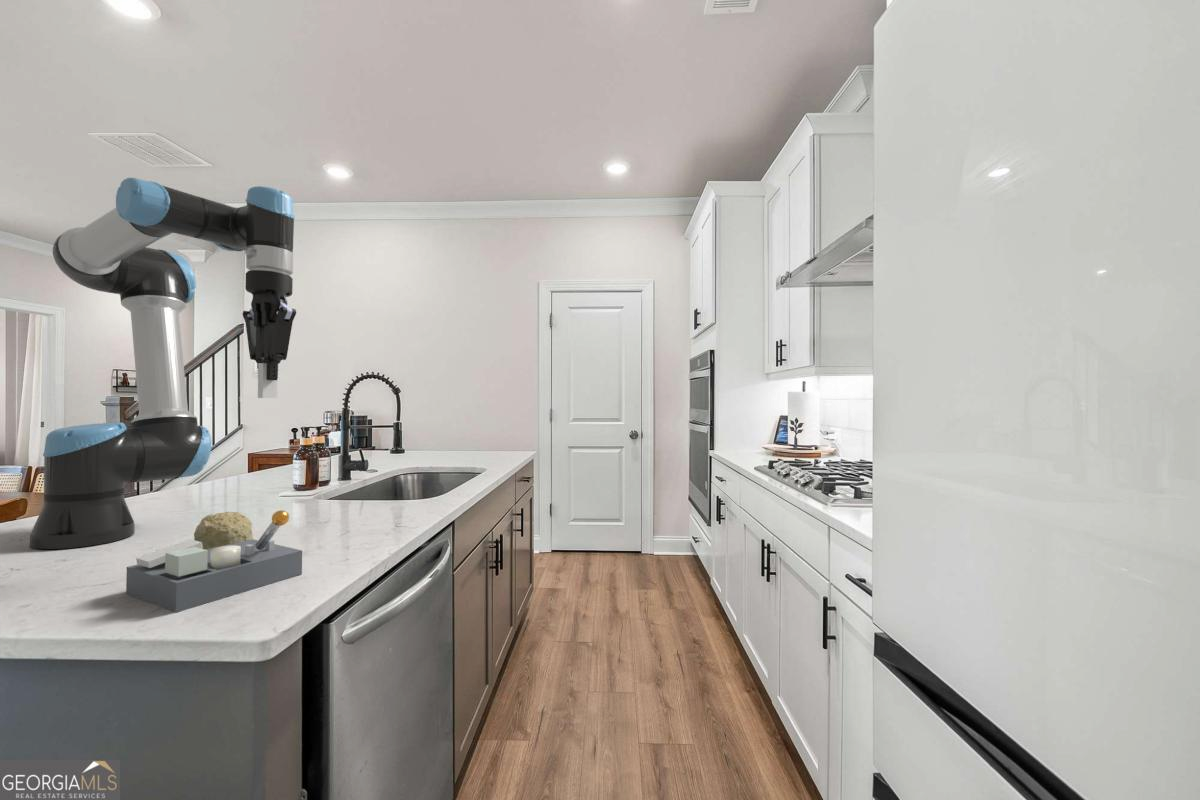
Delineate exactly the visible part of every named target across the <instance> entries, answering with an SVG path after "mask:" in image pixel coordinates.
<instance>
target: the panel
mask: <svg viewBox="0 0 1200 800" xmlns="http://www.w3.org/2000/svg"><path fill="white" fill-rule="evenodd" d="M258 540H259V539H254V538H253V539H251V540H247V541H242V542H238V543H233V544H229V545H224V546H240V547H241V561H240V565H236V566H233V567H229V568H225V569H221V570H216V569H212V568H210V550H212V549H214V548H210V549H206V550H208V558H207V570H203V571H199V572H195V573H191V574H187V575H183V576H179V577H178V576H175V575H172V574H168V573H165V563H162V564H159V565H157V566H154V567H151V568H147V567H144V566H141V565H138V564H134V565H129V566H126V575H125V576H126V581H125V582H126V585H125V586H126V587H125V588H126V589H125V590H126V593H125V594H126V595H129V596H131V597H134V598H136V599H139V600H142V601H145V602H148V603H150V604H153V605H155V606H159V607H161V608H164V609H165V610H169V611H172V612H174V613H178V612H181V611H184V610H185V611H186V610H188V609H192V608H194V607H199V606H202V605H205V604H208V603H211V602H214V601H218V600H222V599H225V598H228V597H231V596H235V595H238V594H241V593H244V592H247V591H251V590H254V589H257V588H260V587H264V586H267V585H271V584H273V583H277V582H281V581H284V580H287V579H292V578H294V577H298V576H301V575H303V549H299V548H293V547H288V546H286V545H285V546H284V545H280V544H275V540H274V539H273V540H272V539H270V541H269V542H268V543H267V545H266V546H265V547H264V549H262V550H259V549H257V548H256V547H255V544H256V543H257V542H258ZM219 547H222V546H219ZM215 548H217V547H215ZM160 549H161V548H159V549H155V551H157V550H160Z"/></svg>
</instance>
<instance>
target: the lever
mask: <svg viewBox="0 0 1200 800" xmlns="http://www.w3.org/2000/svg"><path fill="white" fill-rule="evenodd" d="M289 520H290V514H289V512H287V511H286V510H278V511H275V512H274V513H273V514H272V515H271V522H270V524H269V526H268V527H267V528H266V529H265V531H264V532H263V533H262V535H261V536H260V537H259V539H257V540H258V542H257V543H256V544H255V547H256V548H257V549H259V550H262V549H264V547H265V546H266V545H267V543H268V542H269V541H270V540H272V538H273V536H274V535H275V533H277V531H278V530H279V529H280V528H281V526H285V525H286V524H287V523H288V522H289Z"/></svg>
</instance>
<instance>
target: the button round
mask: <svg viewBox="0 0 1200 800" xmlns="http://www.w3.org/2000/svg"><path fill="white" fill-rule="evenodd" d="M240 561H241V547H240V546H222V547H217V548H214V549H212V550H210V568H212V569H216V570H221V569H225V568H229V567H233V566H236V565H240Z"/></svg>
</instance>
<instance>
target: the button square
mask: <svg viewBox="0 0 1200 800" xmlns="http://www.w3.org/2000/svg"><path fill="white" fill-rule="evenodd" d="M207 558H208V550H204V549H201V548H197V547H191V548H186V549H182V550H177V551H172V552H168V553H165V573H168V574H172V575H175V576H178V577H179V576H183V575H187V574H191V573H195V572H199V571H203V570H207Z"/></svg>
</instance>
